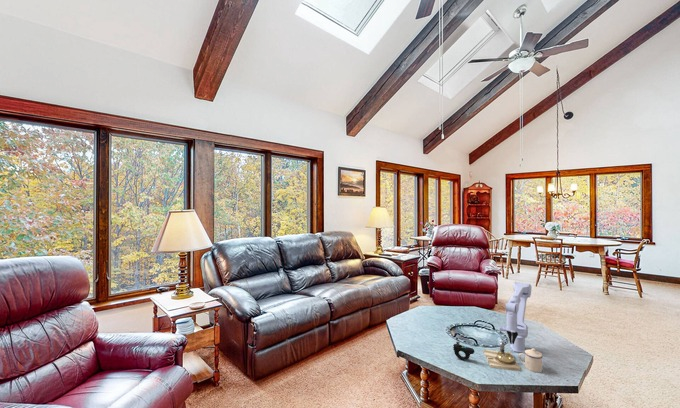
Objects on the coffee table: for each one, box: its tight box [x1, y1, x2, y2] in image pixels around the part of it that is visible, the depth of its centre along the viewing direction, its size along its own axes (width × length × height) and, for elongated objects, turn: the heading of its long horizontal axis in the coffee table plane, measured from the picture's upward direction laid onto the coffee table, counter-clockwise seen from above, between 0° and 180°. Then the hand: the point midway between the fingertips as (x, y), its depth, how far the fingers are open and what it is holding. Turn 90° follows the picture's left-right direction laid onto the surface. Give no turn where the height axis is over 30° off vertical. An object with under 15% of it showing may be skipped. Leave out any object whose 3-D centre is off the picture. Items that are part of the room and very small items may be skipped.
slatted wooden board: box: [483, 349, 521, 372], centre depth 186 cm, size 19×16×2 cm
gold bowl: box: [497, 341, 515, 364], centre depth 185 cm, size 13×9×7 cm
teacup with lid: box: [518, 347, 544, 373], centre depth 178 cm, size 12×9×12 cm
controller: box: [452, 341, 475, 361], centre depth 188 cm, size 4×12×10 cm, turn 56°
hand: (511, 343), depth 189 cm, fingers closed
